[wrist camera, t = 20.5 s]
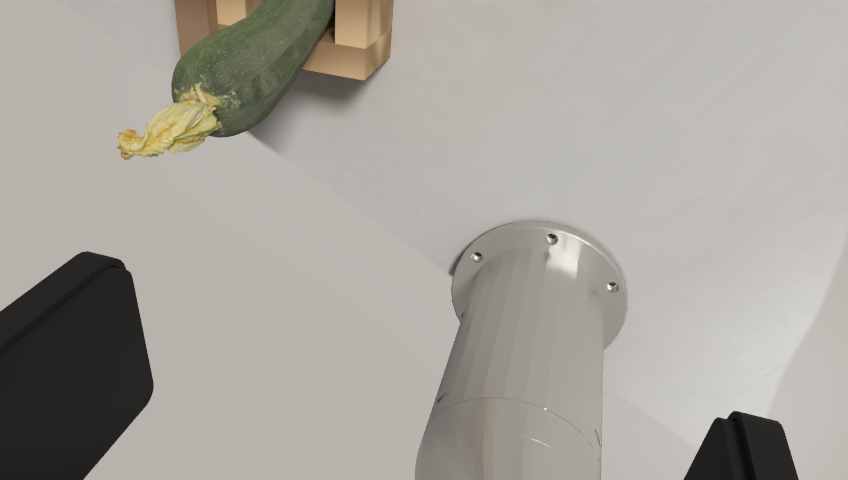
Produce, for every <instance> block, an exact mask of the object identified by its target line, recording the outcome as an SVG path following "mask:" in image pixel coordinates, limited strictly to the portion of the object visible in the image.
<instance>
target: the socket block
mask: <svg viewBox="0 0 848 480" xmlns="http://www.w3.org/2000/svg"><path fill="white" fill-rule="evenodd" d="M262 1H263V0H216V6H217V18H218V30H219V31H220V30H221V29H224V28H226V27H229V26H231V25H233V24H234V23H236V22H238V21H240V20H242V19H244V18H246V17H247V16H249V15H250V14H251V13H253V12H254V11H255V10H256V9H257V8H258V7H259V6H260V4H261V3H262ZM392 16H393V0H336V4H335V19H330V22H329V24H328V26H327V28H326V30H325V31H324V33H323V34H322V36H321V37H320V39H319V41H318V42H317V44H316V46H315V47H314V49H313V51H312V53H311V54H310V56H309V58H308V59H307V61H306V63H305V64H304V66H303V67H302V69H303V70H309V71H315V72H320V73H326V74H331V75H337V76H342V77H348V78H353V79H359V80H365V79H366V78H367V77H368V76H369V75H371V74H372V73H373V72H374V71H375V70H376V69H377V68H378V67H380V66H381V65H382V64H383V63H384V62H385V61H386V60H387V59H388V58H390V47H391V31H392Z"/></svg>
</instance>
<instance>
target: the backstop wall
mask: <svg viewBox="0 0 848 480" xmlns="http://www.w3.org/2000/svg"><path fill="white" fill-rule="evenodd" d="M174 1H175V10H176V18H177V27H178V35H179V44H180V52H181V58H182V57H183V56H184V54H185V53H186V52H187V51H188V50H189V49H190V48H191V47H192V46H193V45H195V44H196V43H198V42H199V41H201V40H202V39H204V38H205V37H207V36H210V35H212V34H214V33H216V32H218V31H219V30H218V18H217V6H216V0H174Z"/></svg>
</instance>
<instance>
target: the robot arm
mask: <svg viewBox="0 0 848 480" xmlns="http://www.w3.org/2000/svg"><path fill="white" fill-rule="evenodd" d="M550 234H554V235H550ZM477 252H478V253H477ZM611 282H614V283H611ZM451 292H452V303H453V306H454V309H455V312H456V315H457V317H458V319H459V321H460V326H459V329H458V332H457V335H456V338H455V341H454V345H453V347H452V351H451V354H450V357H449V360H448V363H447V366H446V369H445V372H444V375H443V378H442V381H441V384H440V387H439V390H438V393H437V396H436V399H435V402H434V406H433V408H432V412H431V415H430V418H429V421H428V424H427V427H426V430H425V432H424V435H423V438H422V442H421V445H420V448H419V451H418V455H417V460H416V467H415V480H601V448H602V395H603V350H604V349H606V348H607V347H608V346H609V345H610V344H611V343H612V342H613V340H614V339H615V338H616V337H617V336H618V334H619V332H620V330H621V328H622V326H623V324H624V321H625V317H626V312H627V291H626V285H625V280H624V278H623V275H622V273H621V270H620V268H619V266H618V265H617V263H616V262H615V261H614V259H613V258H612V256H611V255H610V254H609V253H608V252H607V251H606V250H605V249H604V248H603V247H602V246H601V245H600V244H599V243H598V242H596V241H595V240H593V239H592V238H590V237H588V236H587V235H585V234H584V233H582V232H579V231H577V230H575V229H572V228H570V227H568V226H564V225H560V224H556V223H552V222H543V221H523V222H514V223H510V224H506V225H503V226H499V227H497V228H495V229H493V230H491V231H488V232H486V233H485V234H483V235H482V236H480V237H479V238H478V239H476V240H475V241H474V242H473V243H472V244H471V245H470V246H469V247H468V248H467V249H466V251H465V252H464V253H463V255H462V257H461V259H460V260H459V262H458V264H457V267H456V270H455V273H454V275H453V282H452V288H451ZM153 387H154V386H153V379H152V373H151V368H150V364H149V359H148V354H147V349H146V344H145V339H144V334H143V328H142V324H141V318H140V314H139V308H138V303H137V298H136V293H135V288H134V283H133V278H132V276H131V273H130V272H129V271H127V270H126V268H125V265H124V263H123V262H122V261H121V260H119V259H116V258H112V257H108V256H104V255H100V254H96V253H92V252H88V251H87V252H81V253H80V254H78V255H76V256H75V257H73V258H72V259H71V260H69V261H68V262H67V263H65V264H64V265H63V266H61V267H60V268H58V269H57V270H56V271H54V272H53V273H52V274H50V275H49V276H48V277H46V278H45V279H44V280H42V281H41V282H40V283H38V284H37V285H35V286H34V287H33V288H31V289H30V290H29V291H28V292H26V293H25V294H23V295H22V296H21V297H19V298H18V299H17V300H15V301H14V302H13V303H11V304H10V305H8V306H7V307H6V308H4V309H3V310H2V311H0V480H83V479H84V478H85V477H86V475H87V474H88V473H89V472H90V471H91V470H92V469H93V467H94V466H95V465H96V464H97V463H98V462H99V460H100V459H101V458H102V457H103V456H104V454H105V453H106V452H107V451H108V450H109V449H110V447H111V446H112V445H113V444H114V443H115V442H116V440H117V439H118V438H119V437H120V436H121V435H122V433H123V432H124V431H125V430H126V429H127V427H128V426H129V425H130V424H131V423H132V422H133V420H134V419H135V418H136V417H137V416H138V415H139V413H140V412H141V411H142V410H143V409H144V407H145V406H146V405H147V403H148V402H149V400H150V398H151V396H152V392H153ZM684 480H798V476H797V473H796V469H795V466H794V462H793V460H792V456H791V452H790V449H789V446H788V442H787V439H786V436H785V433H784V430H783V428H782V425H781V424H780V423H779V422H778V421H774V420H770V419H766V418H762V417H758V416H754V415H750V414H746V413H742V412H738V411H734V412H732V413H731V414H730V415H729V417H728V418H727V419H723V418H718V417H717V418H716V419H715V420H714V422H713V423H712V425H711V427H710V429H709V431H708V433H707V435H706V437H705V439H704V441H703V443H702V445H701V447H700V449H699V451H698V453H697V454H696V456H695V459H694V460H693V462H692V464H691V466H690V468H689V470H688V472H687V474H686V476H685V478H684Z"/></svg>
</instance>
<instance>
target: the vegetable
mask: <svg viewBox="0 0 848 480" xmlns="http://www.w3.org/2000/svg"><path fill="white" fill-rule="evenodd" d="M335 4H336V0H263V1H262V3H261V4H260V6H259V7H258V8H257V9H256V10H255V11H254V12H253V13H251V14H250V15H249V16H247V17H246V18H244V19H242V20H240V21H238V22H236V23H234V24H233V25H231V26H229V27H226V28H224V29H221V30H220V31H218V32H216V33H214V34H212V35H210V36H207V37H205V38H204V39H202V40H201V41H199V42H198V43H196V44H195V45H193V46H192V47H191V48H190V49H189V50H188V51H187V52H186V53H185V54H184V56H183V57H182V58H181V59H180V60H179V62H178V63H177V65H176V67H175V70H174V72H173V78H172V84H171V85H172V98H173V102H174V103H173V104H170V105H167V106H166V107H165V108H164V109H162V110H161V111H160V112H158V113H157V114H156V115H155V116H153V117H152V119H151V120H150V123H149V124H147V125H146V126H147V127H146V128H145V129H146V132H145V135H144V137H141V138H140V137H138V134H137V133H136V131H134V130H129V129H127V130H125V131H124V132H121V133H119V136H118V139H119V143H120V146H118V147H117V148H120V149H121V156H122V157H123V158H124V159H130V158H131V157H133V156H134V155H142V157H143V158H145V156H148V157H153V156H158V155H159V154H163V153H164V150H169V151H170V152H171V153H173V154H175V153H176V152H184V151H190V150H191V149H194V148H195V147H197V146H199V145H200V144H202V143H203V142H204V140H205V138H206V137H207V136H214V137H229V136H234V135H237V134H240V133H242V132H244V131H247V130H249V129H250V128H252V127H254V126H255V125H257V124H258V123H259V122H261V121H262V120H263V119H264V118H265V117H266V116H267V115H268V114H270V112H271V111H272V110H273V108H274V107H275V106H276V104H277V103H278V102H279V101H280V99H281V98H282V97H283V95H284V94H285V93H286V91H287V90H288V89H289V87H290V85H291V84H292V82H293V81H294V79H295V77H296V75H297V74H298V73H299V71H300V70H301V69H302V67H303V66H304V64H305V63H306V61H307V59H308V58H309V56H310V54H311V53H312V51H313V49H314V47H315V46H316V44H317V42H318V41H319V39H320V37H321V36H322V34H323V33H324V31H325V30H326V28H327V26H328V24H329V22H330V19H331V17H332V14H333V11H334V8H335Z"/></svg>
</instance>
